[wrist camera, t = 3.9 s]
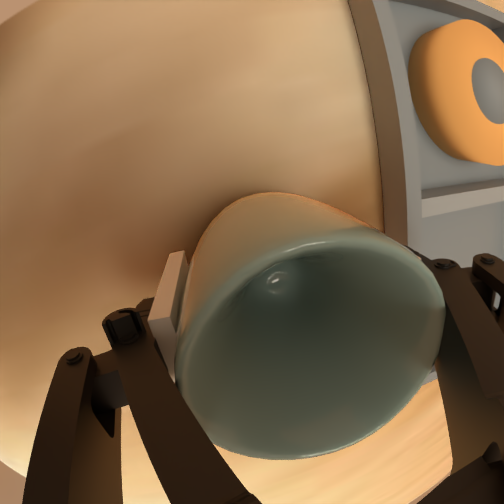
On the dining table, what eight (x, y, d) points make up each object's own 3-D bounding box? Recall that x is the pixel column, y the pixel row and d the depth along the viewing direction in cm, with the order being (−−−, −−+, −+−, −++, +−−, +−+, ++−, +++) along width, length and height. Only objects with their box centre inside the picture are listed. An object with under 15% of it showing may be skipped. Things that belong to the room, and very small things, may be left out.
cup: (219, 159, 15) (236, 174, 5) (353, 212, 17) (485, 284, 7) (173, 296, 17) (148, 444, 7) (298, 330, 19) (361, 461, 9)
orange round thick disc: (381, 79, 14) (415, 69, 11) (444, 9, 12) (474, -3, 9) (463, 188, 17) (497, 197, 14) (510, 108, 15) (540, 109, 12)
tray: (343, -15, 12) (361, -33, 10) (491, 22, 13) (511, 17, 11) (379, 377, 21) (393, 397, 19) (497, 323, 22) (513, 335, 20)
